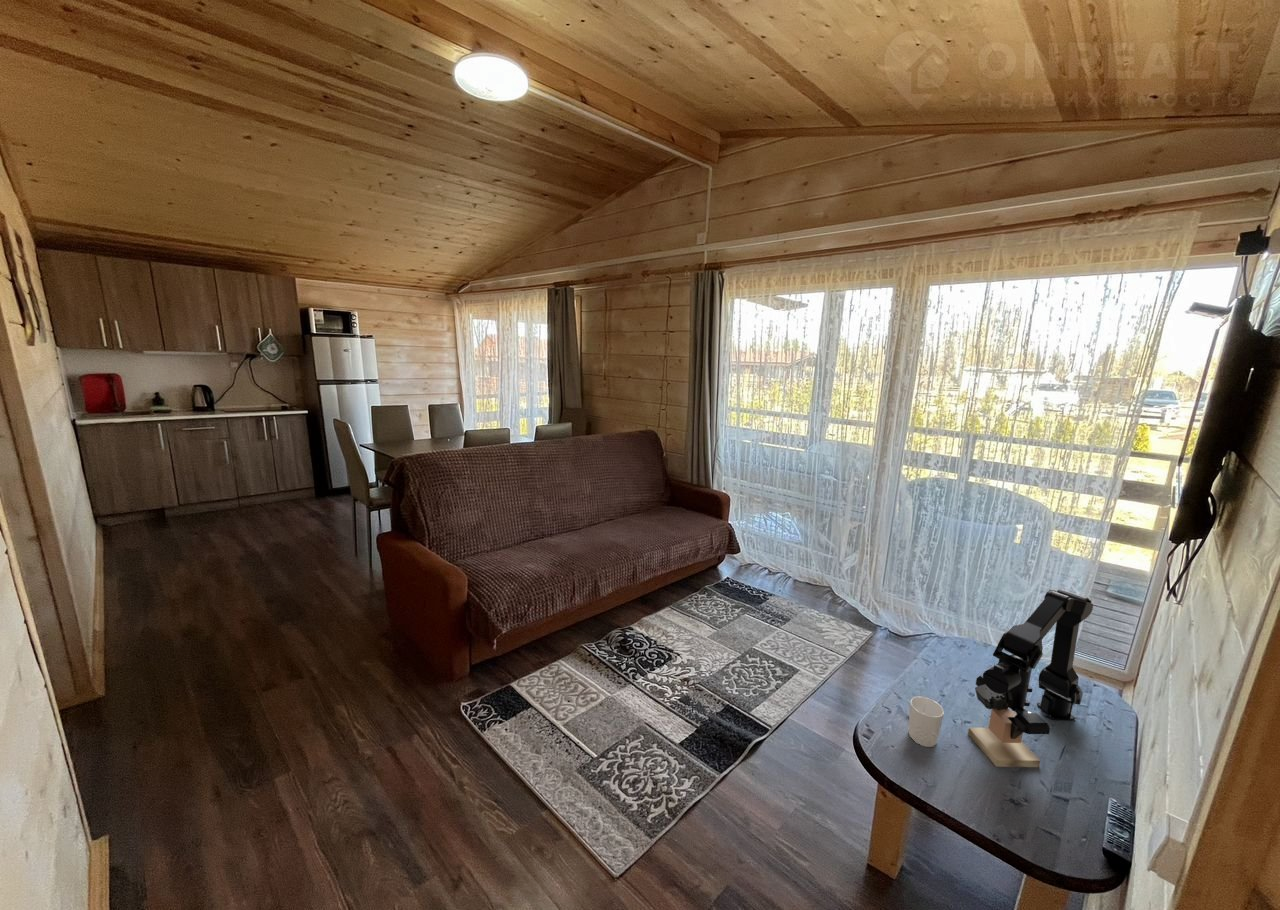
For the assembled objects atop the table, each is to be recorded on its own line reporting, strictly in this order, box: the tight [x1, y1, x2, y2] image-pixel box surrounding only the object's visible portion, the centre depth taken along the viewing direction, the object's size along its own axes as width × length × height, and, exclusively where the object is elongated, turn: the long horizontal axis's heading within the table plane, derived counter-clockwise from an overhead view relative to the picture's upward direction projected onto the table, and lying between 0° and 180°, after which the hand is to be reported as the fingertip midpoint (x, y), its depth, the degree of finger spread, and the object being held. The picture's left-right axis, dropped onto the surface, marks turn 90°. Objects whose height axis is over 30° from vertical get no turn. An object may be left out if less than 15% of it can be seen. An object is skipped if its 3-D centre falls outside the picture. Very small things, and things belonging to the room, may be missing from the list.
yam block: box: [988, 708, 1024, 743], centre depth 128 cm, size 5×5×6 cm
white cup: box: [908, 696, 945, 748], centre depth 132 cm, size 8×8×10 cm
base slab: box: [967, 727, 1041, 768], centre depth 129 cm, size 11×11×2 cm
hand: (1005, 730), depth 128 cm, fingers closed on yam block, 5 cm apart
